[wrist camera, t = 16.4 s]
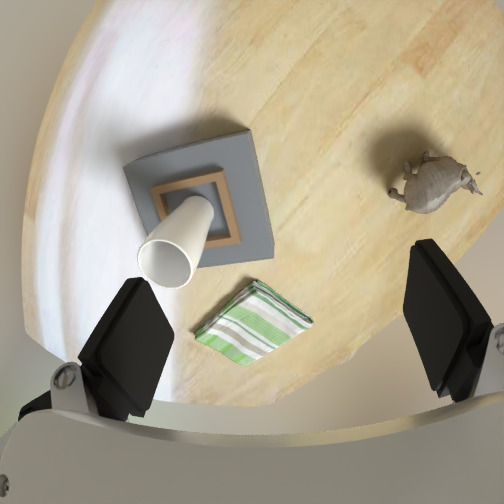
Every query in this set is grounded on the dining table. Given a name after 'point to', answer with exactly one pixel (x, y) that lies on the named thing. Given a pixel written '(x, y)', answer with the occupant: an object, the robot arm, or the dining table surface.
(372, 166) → the dining table surface
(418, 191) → the rhinoceros figurine
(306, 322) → the dish towel
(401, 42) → the dining table surface
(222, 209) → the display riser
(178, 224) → the white tapered cylinder
